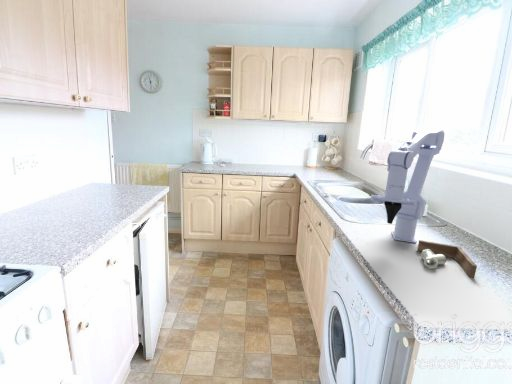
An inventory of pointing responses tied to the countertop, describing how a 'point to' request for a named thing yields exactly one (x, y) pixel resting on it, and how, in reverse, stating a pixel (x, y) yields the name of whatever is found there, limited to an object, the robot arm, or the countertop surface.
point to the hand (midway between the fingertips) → (389, 222)
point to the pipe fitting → (432, 259)
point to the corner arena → (451, 255)
